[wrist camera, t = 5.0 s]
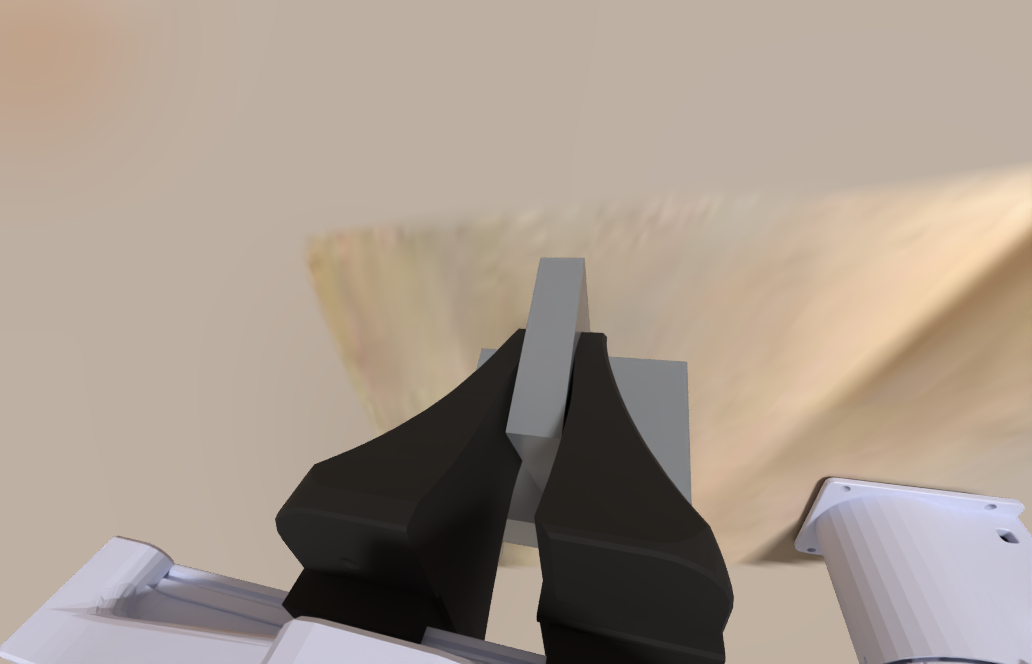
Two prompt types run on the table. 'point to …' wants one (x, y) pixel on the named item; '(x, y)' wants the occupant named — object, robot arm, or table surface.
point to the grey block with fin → (548, 389)
